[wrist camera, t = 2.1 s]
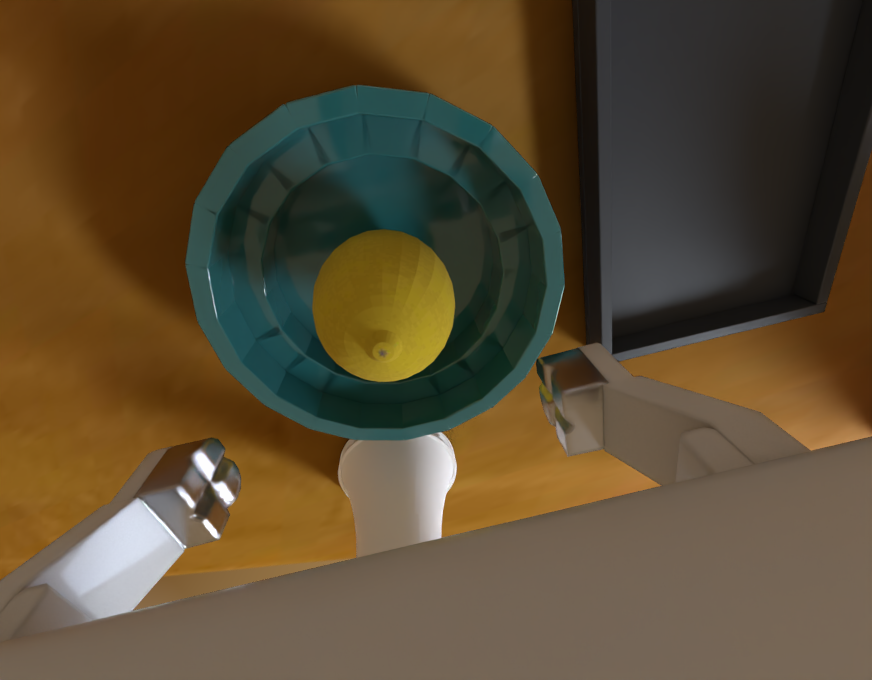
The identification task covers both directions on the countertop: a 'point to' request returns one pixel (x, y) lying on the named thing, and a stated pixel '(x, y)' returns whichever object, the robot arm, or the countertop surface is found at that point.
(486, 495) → the countertop surface
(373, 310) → the lemon
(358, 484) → the vase
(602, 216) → the tray
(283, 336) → the bowl
